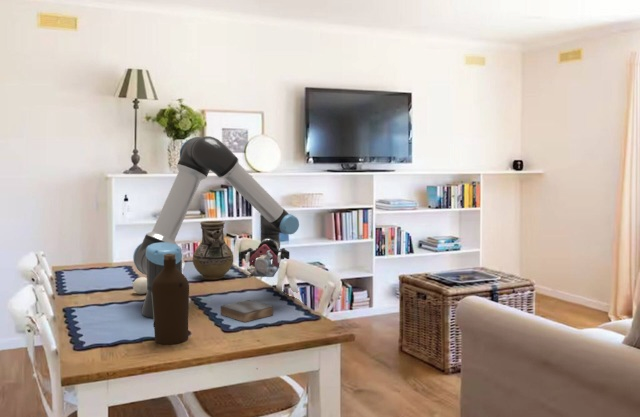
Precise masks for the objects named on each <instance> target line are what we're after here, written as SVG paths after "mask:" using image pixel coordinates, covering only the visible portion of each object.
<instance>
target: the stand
mask: <svg viewBox="0 0 640 417" xmlns="http://www.w3.org/2000/svg"><path fill="white" fill-rule="evenodd" d="M220 315H221V316H224V317H228V318H231V319H232V320H233V319H234V320H237V321H239V322H242V323H247V322H250V321H255V320H259V319H262V318H267V317H271V316H274V306H273V305H269V304H266V303H261V302H259V301H254V300H252V299H246V300H242V301H238V302H232V303H228V304H223V305H220Z"/></svg>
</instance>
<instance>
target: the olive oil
mask: <svg viewBox="0 0 640 417" xmlns="http://www.w3.org/2000/svg"><path fill="white" fill-rule="evenodd" d="M151 294H152V305H153V318H152V319H153V324H152V325H153V329H154V330H153V331H154V342H155V343H157V344H160V345H174V344H175V345H176V344H180V343H184V342H186V341H187V340H188V339H189V311H190V310H189V308H190V307H189V306H190V305H189V304H190V284H189V282H188V278H187V276H185V275H184V274H183V272H182V273H181V272H180V271H179V270H178V269H177V268H176V259H175V254H165V255H164V268H163V270H162V271H161V272H160V273H159V274H158V275H157V276H156V277H155V279H154V280H153V283H152V287H151Z"/></svg>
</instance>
